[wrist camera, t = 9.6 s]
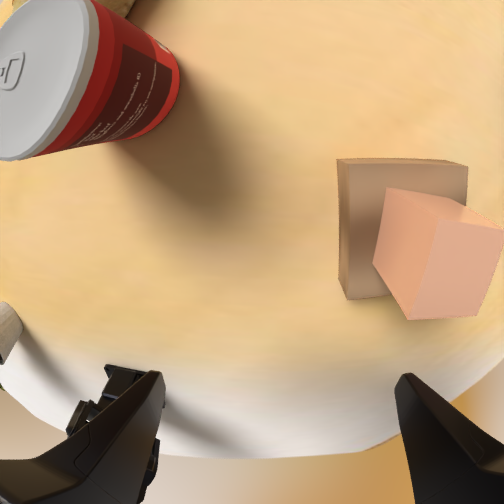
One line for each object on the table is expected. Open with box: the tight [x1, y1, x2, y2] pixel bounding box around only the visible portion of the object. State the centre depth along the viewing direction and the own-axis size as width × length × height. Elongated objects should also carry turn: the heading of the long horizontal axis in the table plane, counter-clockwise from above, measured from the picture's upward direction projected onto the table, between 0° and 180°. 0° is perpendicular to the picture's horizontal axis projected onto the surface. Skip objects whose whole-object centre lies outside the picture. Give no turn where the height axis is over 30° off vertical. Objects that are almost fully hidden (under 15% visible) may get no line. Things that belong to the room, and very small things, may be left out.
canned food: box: [0, 0, 180, 161], centre depth 11 cm, size 8×8×11 cm
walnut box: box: [337, 158, 468, 300], centre depth 17 cm, size 9×9×4 cm
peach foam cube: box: [372, 187, 504, 320], centre depth 13 cm, size 5×5×6 cm
